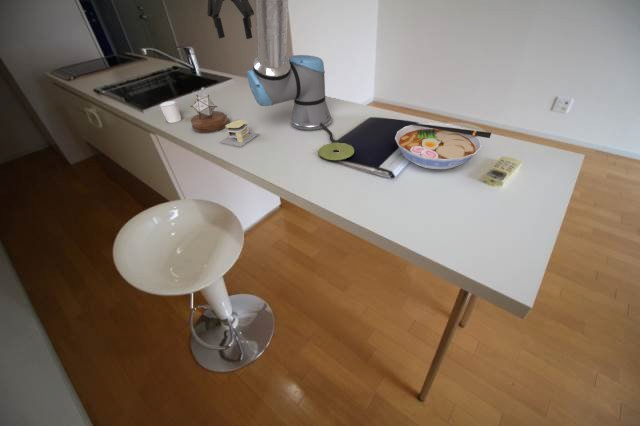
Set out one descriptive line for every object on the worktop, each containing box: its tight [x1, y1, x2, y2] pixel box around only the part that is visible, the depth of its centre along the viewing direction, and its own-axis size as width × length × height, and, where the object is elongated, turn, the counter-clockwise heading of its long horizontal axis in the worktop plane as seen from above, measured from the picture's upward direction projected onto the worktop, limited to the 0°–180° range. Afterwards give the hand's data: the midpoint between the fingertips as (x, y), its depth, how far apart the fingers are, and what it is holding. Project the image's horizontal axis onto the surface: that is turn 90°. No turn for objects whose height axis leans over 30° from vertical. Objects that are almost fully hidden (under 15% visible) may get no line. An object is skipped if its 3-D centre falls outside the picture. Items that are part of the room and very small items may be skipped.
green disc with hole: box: [317, 142, 355, 161], centre depth 90 cm, size 11×11×2 cm
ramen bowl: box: [394, 121, 492, 170], centre depth 82 cm, size 25×23×8 cm
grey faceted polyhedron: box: [190, 94, 218, 118], centre depth 111 cm, size 9×8×10 cm
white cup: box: [159, 100, 182, 124], centre depth 120 cm, size 7×7×7 cm
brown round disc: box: [190, 110, 230, 134], centre depth 114 cm, size 14×14×4 cm
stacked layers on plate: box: [220, 119, 258, 148], centre depth 103 cm, size 10×9×6 cm
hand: (235, 38), depth 112 cm, fingers open, 13 cm apart
